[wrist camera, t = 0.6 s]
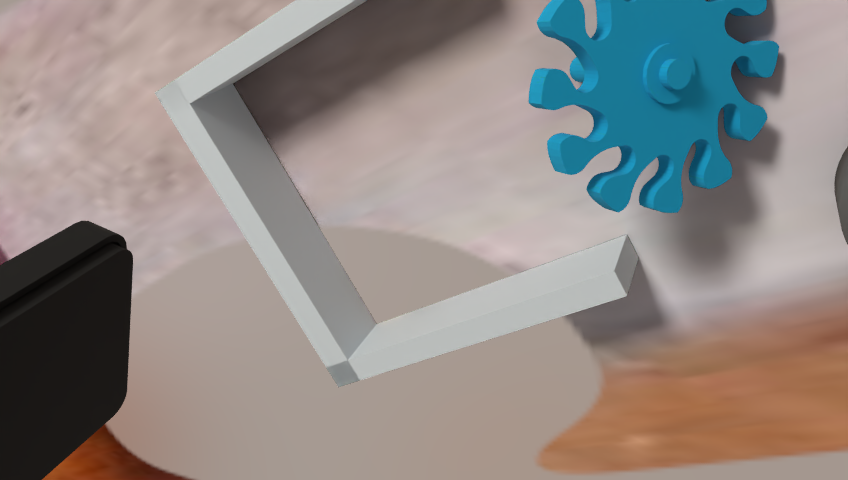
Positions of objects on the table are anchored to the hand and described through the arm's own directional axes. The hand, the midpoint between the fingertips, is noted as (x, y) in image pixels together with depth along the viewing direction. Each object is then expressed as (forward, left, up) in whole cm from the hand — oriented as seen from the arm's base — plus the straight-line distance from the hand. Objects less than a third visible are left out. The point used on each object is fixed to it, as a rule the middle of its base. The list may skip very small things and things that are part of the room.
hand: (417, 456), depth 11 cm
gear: (-1, 0, -25) cm, 25 cm away
